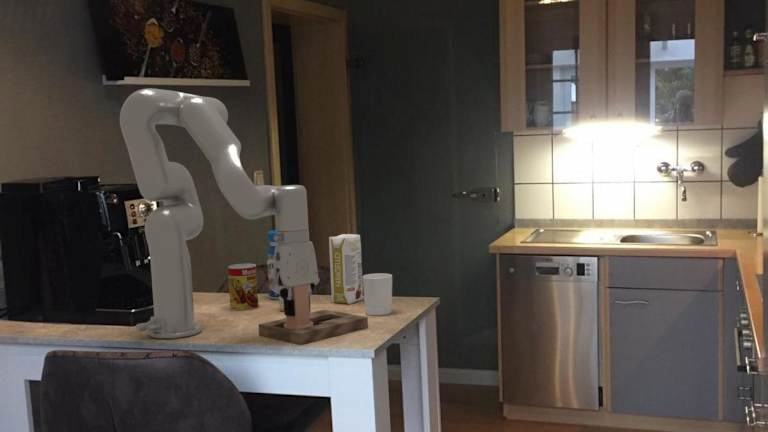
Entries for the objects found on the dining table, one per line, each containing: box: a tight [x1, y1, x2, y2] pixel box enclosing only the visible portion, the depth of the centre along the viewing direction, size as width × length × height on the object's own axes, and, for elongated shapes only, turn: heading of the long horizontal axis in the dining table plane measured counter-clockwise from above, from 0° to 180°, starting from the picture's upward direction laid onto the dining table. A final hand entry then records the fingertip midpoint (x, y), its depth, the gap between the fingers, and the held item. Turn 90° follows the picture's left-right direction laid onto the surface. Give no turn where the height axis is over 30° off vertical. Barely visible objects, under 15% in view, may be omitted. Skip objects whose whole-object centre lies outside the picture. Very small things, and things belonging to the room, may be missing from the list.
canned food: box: [227, 263, 259, 312], centre depth 231 cm, size 8×8×12 cm
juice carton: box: [328, 233, 364, 305], centre depth 234 cm, size 8×9×19 cm
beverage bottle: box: [266, 229, 280, 301], centre depth 244 cm, size 8×8×20 cm
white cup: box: [362, 272, 393, 316], centre depth 217 cm, size 8×8×10 cm
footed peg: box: [284, 284, 313, 330], centre depth 195 cm, size 7×7×12 cm
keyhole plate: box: [257, 309, 369, 346], centre depth 199 cm, size 21×16×3 cm
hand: (297, 313), depth 195 cm, fingers closed on footed peg, 4 cm apart
